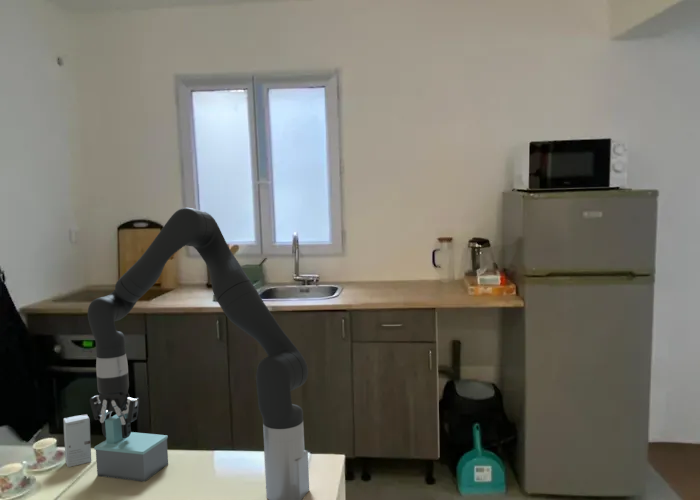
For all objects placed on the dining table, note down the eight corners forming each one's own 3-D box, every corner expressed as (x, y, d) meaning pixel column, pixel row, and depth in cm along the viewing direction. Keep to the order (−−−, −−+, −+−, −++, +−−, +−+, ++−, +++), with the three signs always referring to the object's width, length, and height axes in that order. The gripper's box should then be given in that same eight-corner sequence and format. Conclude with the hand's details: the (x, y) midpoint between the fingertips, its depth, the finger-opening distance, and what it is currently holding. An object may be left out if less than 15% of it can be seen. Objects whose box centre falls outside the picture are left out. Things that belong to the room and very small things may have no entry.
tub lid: (168, 442, 152) (166, 413, 152) (143, 459, 142) (141, 428, 142) (121, 437, 157) (119, 409, 156) (94, 454, 147) (92, 423, 146)
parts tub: (168, 464, 153) (166, 438, 152) (144, 481, 143) (142, 454, 143) (123, 459, 157) (121, 434, 156) (97, 475, 147) (95, 449, 147)
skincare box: (67, 468, 152) (64, 423, 152) (65, 462, 156) (62, 418, 155) (92, 461, 156) (89, 417, 155) (89, 456, 160) (86, 413, 159)
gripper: (145, 369, 151) (149, 433, 152) (99, 367, 155) (103, 428, 156) (126, 378, 144) (130, 444, 145) (78, 375, 148) (83, 439, 149)
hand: (116, 436), depth 151 cm, fingers open, 5 cm apart
